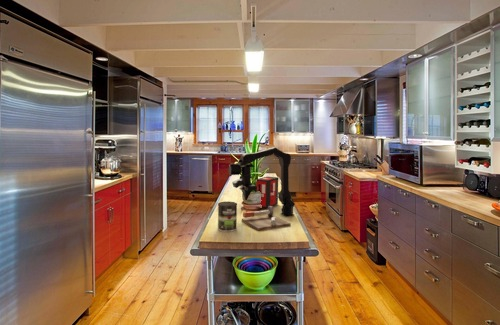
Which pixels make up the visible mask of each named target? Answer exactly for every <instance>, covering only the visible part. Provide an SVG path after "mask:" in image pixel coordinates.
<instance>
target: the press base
mask: <svg viewBox="0 0 500 325" xmlns="http://www.w3.org/2000/svg"><path fill="white" fill-rule="evenodd" d="M273 217H275V226H274V225H271V219H272V217H268V214H265V215H257V216H254V217H246V218H245V217H243V218H241V222H242V223H244V224H246V225H248V226H249V227H250V228H253V229H254V230H256V231H258V232H259V231H264V230H265V231H266V230H272V229H279V228H285V227H291V224H292V223H290V222H289V221H287V220H285V219H282V218H280V217H278V216H276V215H274V214H273Z"/></svg>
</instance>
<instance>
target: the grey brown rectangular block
mask: <svg viewBox="0 0 500 325" xmlns="http://www.w3.org/2000/svg"><path fill="white" fill-rule="evenodd" d="M271 225H274V226H275V217H272V219H271Z"/></svg>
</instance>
